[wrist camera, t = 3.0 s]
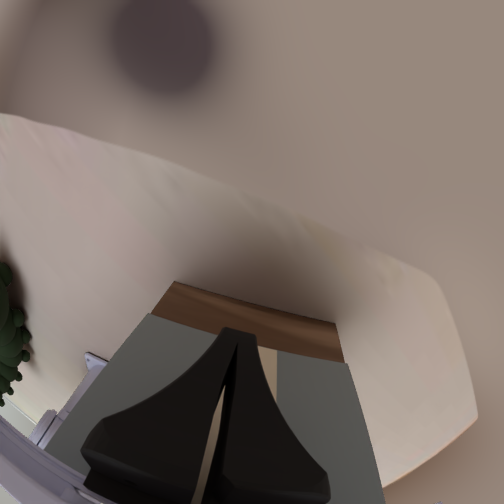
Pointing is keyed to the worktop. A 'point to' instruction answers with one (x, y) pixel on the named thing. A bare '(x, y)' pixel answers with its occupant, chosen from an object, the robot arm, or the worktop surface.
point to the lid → (181, 359)
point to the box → (250, 322)
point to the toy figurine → (10, 337)
